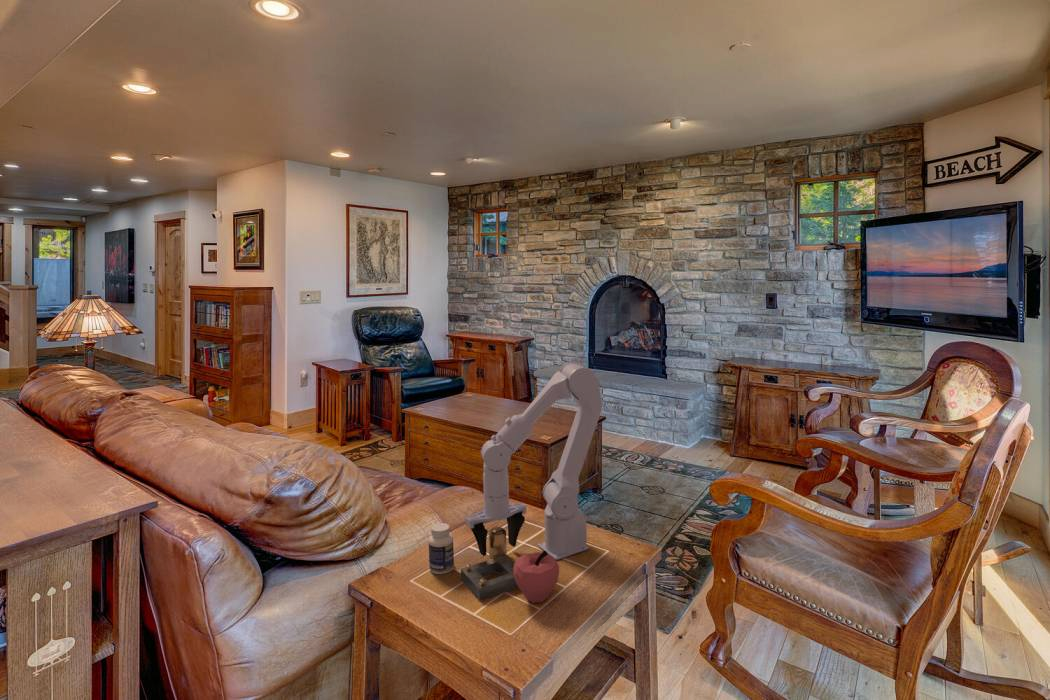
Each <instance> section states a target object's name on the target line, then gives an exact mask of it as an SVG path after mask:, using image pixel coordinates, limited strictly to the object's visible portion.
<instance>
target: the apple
mask: <svg viewBox="0 0 1050 700" xmlns="http://www.w3.org/2000/svg"><path fill="white" fill-rule="evenodd" d="M514 564H515V565H514V567H513V574H514V578H515V581H516V583H517V585H518V589H519V590H520V591H521V593H522V594H523V595H524V597H525V599H526V600H528V601H529V602H531V603H533V604H535V603H543V602H544V601H545V599H547V598H548V597H549V596H550V593H551V592H552V590H553V589H554V588H555V585H556V584H557V583H558V581H559V580H558V579H559V576H560V575H559V574H560V566H559V564H558V563H557V560H555V559H554V558H553V556H550V555H549V554H548V553H547V552H546V551H545V550H544V551H542V552H539V551H537V552H532V553H527V552H525V553H523V554H522V555H521V556H520V557H517V558H516V559H515V562H514Z"/></svg>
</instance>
